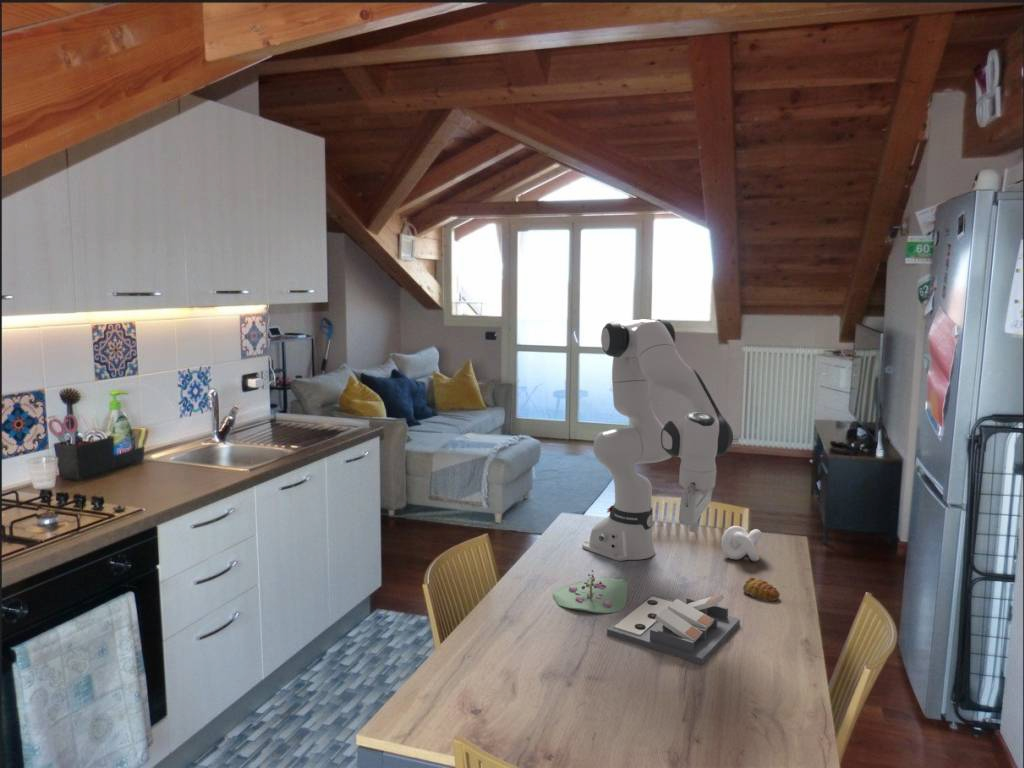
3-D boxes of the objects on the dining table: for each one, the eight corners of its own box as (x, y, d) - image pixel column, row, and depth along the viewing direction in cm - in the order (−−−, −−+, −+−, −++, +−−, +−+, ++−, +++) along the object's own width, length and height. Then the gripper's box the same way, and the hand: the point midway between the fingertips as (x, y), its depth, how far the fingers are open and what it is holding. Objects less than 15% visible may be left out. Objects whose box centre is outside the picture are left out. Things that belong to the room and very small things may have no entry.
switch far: (681, 615, 193) (679, 610, 193) (689, 607, 197) (687, 602, 197) (716, 605, 187) (714, 600, 187) (724, 598, 191) (721, 593, 191)
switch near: (654, 619, 182) (656, 614, 181) (663, 611, 186) (665, 607, 185) (692, 644, 177) (694, 640, 176) (700, 636, 181) (702, 631, 180)
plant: (577, 572, 225) (578, 543, 224) (646, 586, 216) (647, 555, 215) (540, 606, 203) (541, 573, 202) (615, 623, 194) (616, 589, 193)
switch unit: (606, 634, 187) (607, 619, 186) (650, 599, 206) (651, 585, 206) (702, 665, 173) (702, 648, 172) (739, 624, 192) (740, 609, 192)
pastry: (784, 598, 208) (785, 584, 207) (770, 605, 204) (771, 591, 203) (754, 586, 215) (754, 573, 215) (739, 593, 211) (740, 580, 210)
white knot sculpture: (771, 564, 230) (773, 535, 229) (733, 567, 228) (734, 537, 227) (754, 550, 241) (755, 523, 240) (717, 552, 240) (718, 525, 238)
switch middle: (666, 610, 187) (668, 605, 187) (675, 602, 191) (677, 598, 191) (704, 631, 182) (706, 626, 182) (712, 623, 186) (714, 618, 186)
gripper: (700, 492, 184) (697, 547, 187) (718, 469, 202) (715, 519, 205) (674, 488, 187) (671, 542, 189) (694, 465, 205) (691, 515, 207)
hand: (694, 530), depth 197 cm, fingers closed
